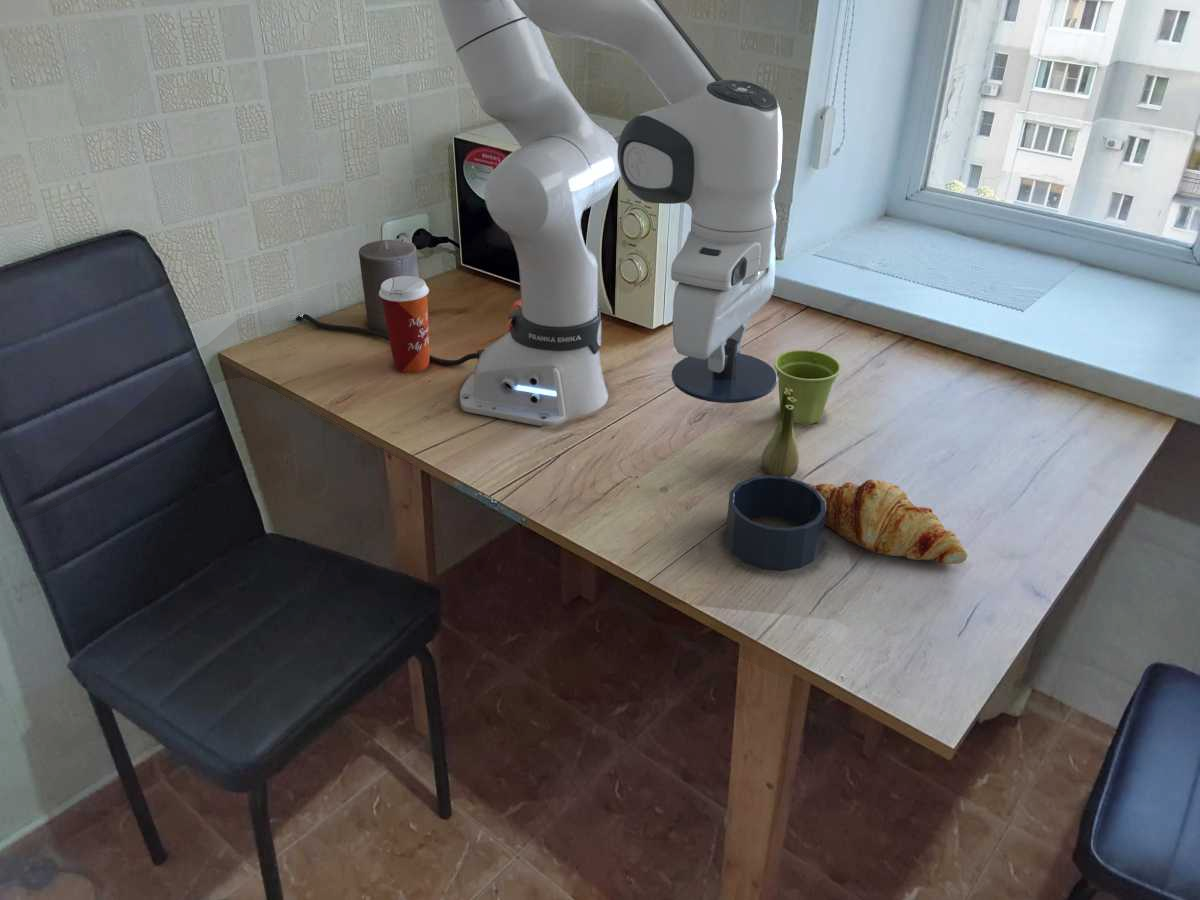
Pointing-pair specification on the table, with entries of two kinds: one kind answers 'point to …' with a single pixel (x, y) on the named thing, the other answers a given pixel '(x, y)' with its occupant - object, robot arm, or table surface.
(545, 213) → the robot arm
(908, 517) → the croissant
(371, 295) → the pillar candle
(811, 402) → the plant pot
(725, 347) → the lid
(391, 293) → the paper cup
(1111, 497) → the table surface
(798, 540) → the pot
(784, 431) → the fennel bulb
